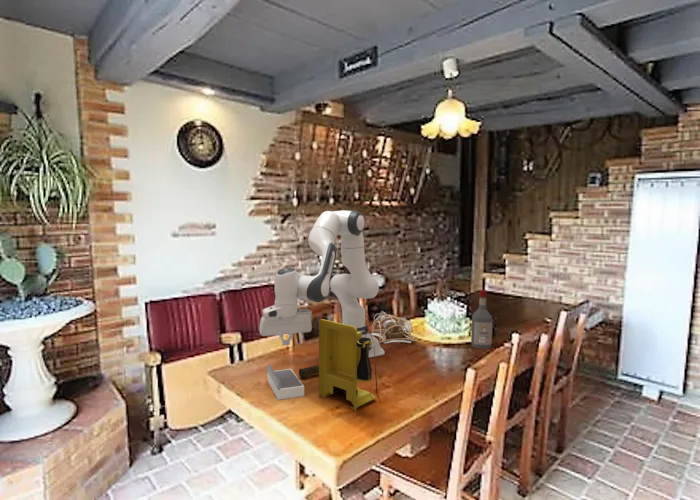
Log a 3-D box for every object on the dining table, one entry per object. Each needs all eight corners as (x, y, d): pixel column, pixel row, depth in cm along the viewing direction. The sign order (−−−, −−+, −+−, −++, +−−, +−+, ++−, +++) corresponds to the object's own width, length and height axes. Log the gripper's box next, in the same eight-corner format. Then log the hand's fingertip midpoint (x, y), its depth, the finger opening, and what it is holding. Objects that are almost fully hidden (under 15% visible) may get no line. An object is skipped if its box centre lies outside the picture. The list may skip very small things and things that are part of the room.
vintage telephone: (396, 406, 159) (398, 324, 156) (372, 419, 148) (373, 332, 146) (334, 383, 180) (334, 310, 177) (309, 393, 169) (309, 316, 167)
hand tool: (302, 380, 182) (303, 369, 181) (297, 376, 185) (298, 365, 184) (340, 371, 193) (341, 361, 192) (335, 367, 196) (336, 358, 195)
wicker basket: (359, 346, 236) (359, 318, 233) (383, 325, 267) (384, 299, 264) (408, 356, 224) (409, 326, 221) (428, 332, 255) (429, 306, 252)
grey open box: (291, 377, 185) (291, 361, 184) (304, 396, 166) (304, 378, 166) (267, 380, 181) (267, 364, 181) (278, 400, 163) (277, 382, 162)
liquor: (492, 350, 225) (494, 292, 222) (474, 350, 225) (476, 292, 223) (487, 345, 234) (489, 289, 231) (470, 344, 234) (471, 288, 232)
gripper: (309, 306, 178) (309, 340, 179) (258, 310, 171) (258, 345, 172) (314, 309, 172) (313, 344, 173) (261, 313, 165) (261, 349, 166)
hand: (286, 344), depth 173 cm, fingers closed
